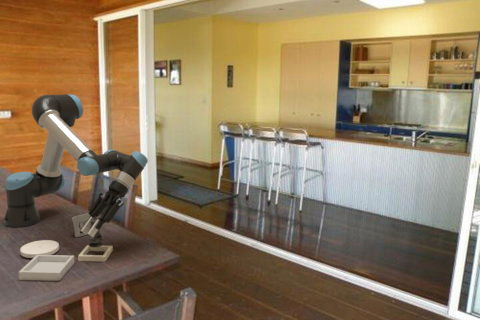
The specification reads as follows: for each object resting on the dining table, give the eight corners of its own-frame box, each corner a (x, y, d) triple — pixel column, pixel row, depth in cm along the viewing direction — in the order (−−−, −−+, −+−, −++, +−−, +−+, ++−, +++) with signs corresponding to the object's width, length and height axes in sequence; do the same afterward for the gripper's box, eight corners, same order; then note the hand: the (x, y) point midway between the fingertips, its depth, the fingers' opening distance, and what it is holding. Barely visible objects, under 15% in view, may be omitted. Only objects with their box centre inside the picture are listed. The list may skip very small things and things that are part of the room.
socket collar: (87, 249, 169) (87, 245, 169) (112, 250, 170) (112, 245, 169) (78, 260, 159) (78, 256, 159) (105, 261, 160) (105, 256, 159)
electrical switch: (76, 238, 181) (74, 217, 179) (70, 236, 184) (68, 216, 182) (95, 232, 188) (93, 213, 186) (89, 230, 191) (87, 211, 190)
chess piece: (90, 241, 166) (89, 213, 164) (105, 241, 167) (104, 213, 164) (86, 247, 160) (85, 218, 158) (101, 247, 161) (101, 219, 158)
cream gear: (22, 247, 169) (22, 242, 169) (59, 244, 175) (59, 238, 174) (18, 262, 157) (18, 256, 156) (58, 257, 162) (58, 251, 161)
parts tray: (37, 262, 157) (37, 254, 156) (74, 262, 157) (74, 255, 157) (19, 279, 143) (18, 272, 143) (59, 280, 144) (59, 272, 143)
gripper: (139, 193, 167) (106, 244, 157) (113, 185, 176) (80, 232, 167) (129, 183, 162) (93, 235, 152) (103, 176, 171) (68, 224, 161)
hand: (87, 233), depth 159 cm, fingers closed on chess piece, 4 cm apart
